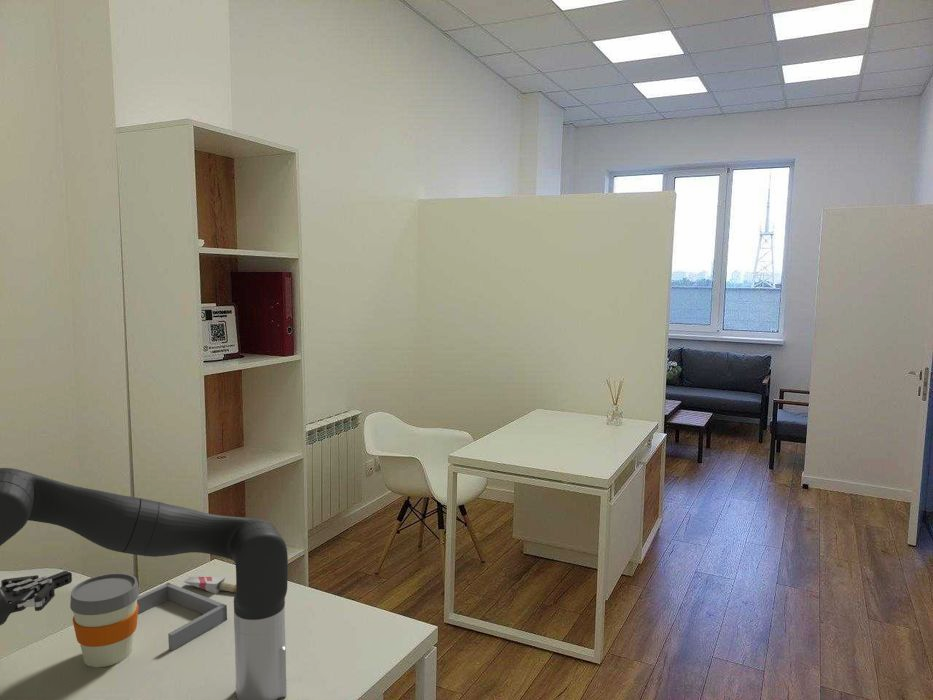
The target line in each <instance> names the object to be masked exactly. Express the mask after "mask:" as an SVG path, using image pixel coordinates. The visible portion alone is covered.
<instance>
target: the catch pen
mask: <svg viewBox="0 0 933 700" xmlns="http://www.w3.org/2000/svg"><path fill="white" fill-rule="evenodd" d="M166 601H170V602H173V603H175V604H177V605H180V606H183V607H185V608H188V609H190V610H193V611H195V612H197V613H200V614H202V615H200V616H198V617H196V618H194V619H192V620H191V621H189V622H187V623H185V624H184V625H181V626H179V627H177V628H176V629H174V630H173V631H171V632H169V633H168V634H167V635H168V638H167V639H168V649H169V650H170V651H172V652H173V651H174V650H177V649H179V647H181V646H183V645H185V644H187V643H188V642H190V641H192V640H194V639H196V638H198V637H199V636H201V635H202V634H204V633H206V632H209V631H210V630H211V629H214V628H215V627H217V626H218V625H221V624H222V623H224V622H225V621H227V620H228V606H227V604H224V603H221V602H219V601H216V600H214V599H213V598H212V599H211V598H210V597H207V596H204V595H201V594H198V593H196V592H192V591H191V590H188V589H186V588H183V587H181V586H178V585H175V584H173V583H170V582H167V583H165V584H163V585H160V586H158V587H156V588H154V589H152V590H150V591H148V592H146V593H144V594H141V595H139V596H138V598H137V603H138V606H139V607H138V615H139V614H141V613H143V612H145V611H148V610H149V609H153V608H154V607H156V606H157V605H160V604H162V603H164V602H166Z"/></svg>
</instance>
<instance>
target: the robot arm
mask: <svg viewBox="0 0 933 700" xmlns="http://www.w3.org/2000/svg"><path fill="white" fill-rule="evenodd" d="M28 521H31V522H38V523H43V524H49V525H55V526H59V527H62V528H64V529H67V530H69V531H71V532H73V533H75V534H77V535H79V536H81V537H82V538H85V539H86V540H87V541H89V542H91V543H93V544H96V545H97V546H100V547H101V548H105V549H107V550H111V551H112V552H113V551H114V552H116V553H122V554H128V555H135V556H141V557H150V558H151V557H154V558H155V557H156V558H157V557H168V556H174V555H176V556H177V555H181V554H190V553H198V554H199V553H201V554H206V555H213V556H217V557H221V558H226V559H229V560H231V561H233V562H234V564H235V583H236V584H235V585H236V593H235V594H234V597H233V622H234V626H233V627H234V656H235V657H234V658H235V659H234V663H235V666H234V667H235V690H236V692H235V693H236V699H237V700H278V699H280V698H285V697H287V657H286V656H287V654H286V653H287V652H286V650H287V649H286V648H287V647H286V642H287V641H286V608H285V607H286V596H287V592H288V581H289V579H288V575H289V573H288V570H289V569H288V568H289V564H288V563H289V562H288V561H289V560H288V557H289V556H288V548H287V544H286V542H285V540H284V538H283V537H282V536H281V534H280V533H279V530H278V529H277V528H276V527H275V525H273V524H272V523H270V522H269V521H267V520H265V519H260V518H253V517H244V516H243V517H241V516H230V515H220V514H213V513H208V512H204V511H199V510H195V509H191V508H188V507H182V506H178V505H173V504H169V503H165V502H161V501H157V500H152V499H146V498H139V497H135V496H130V495H129V496H127V495H123V494H117V493H112V492H108V491H104V490H103V491H102V490H99V489H93V488H87V487H83V486H78V485H74V484H69V483H65V482H61V481H58V480H55V479H52V478H49V477H45V476H43V475H39V474H35V473H31V472H28V471H26V470H20V469H18V468H11V467H0V547H1V546H2V545H4V544H6V542H7V541H9V540H10V539H11V538H12V537H14V536H16V535H17V533H18V532H20V531H21V530H22V529H23V528H24V527H25V526H26V524H27V523H28ZM0 581H1V583H0V626H3V625H4V624H5V623H6V622H7V620H8V618H9V616H10V615H11V614H14V613H18V612H22V611H24V610H25V609H26V608H34V611H35V612H39V611H42V610H43V609H44V608H45V607H46V606H47V605H48V604H49V602H51V601H52V600H53V598H54V597H55V596H56V594H55V590H56V589H59V588H62V587H64V586H67V585H69V584H71V583H72V581H73V575H72V572H70V571H68V570H64V571H61V572H58V573H55V574H52V575H50V576H39V575H29V576H27V575H26V576H19V577H11V578H4V579H2V580H0Z"/></svg>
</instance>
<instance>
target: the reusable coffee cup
mask: <svg viewBox="0 0 933 700" xmlns="http://www.w3.org/2000/svg"><path fill="white" fill-rule="evenodd" d="M139 596H140V589H139V583H138V579H137V577H136V576H134V575H133V574H129V573H126V572H125V573H124V572H113V573H105V574H100V575H96V576H93V577H90V578H87V579H85V580H83V581H81V582H79V583H77V584H76V585H75V586H74V587H73V588H72V590H71V592H70V603H69V604H70V605H69V607H70V610H71V611H72V613H73V617H72V624H73V628H74V632H75V637H76V642H77V643H78V644H80V645H79V646H80V648H81V649H80V650H81V654H82V658H83V662H84V664H85V665H87V666H88V665H89V666H88V667H91V666H92V668H103V667H109V666H113V665H116V664H118V662H119V663H121V662H123V661H124V660H126V659H127V658H128V657H129V656H130V655H131V654H132V652H133V644H134V636H135V631H136V630H137V625H138V617H139V616H138V615H139V614H138V607H139V606H138V603H137V598H138V597H139ZM115 663H116V664H115Z"/></svg>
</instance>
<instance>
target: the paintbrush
mask: <svg viewBox="0 0 933 700" xmlns="http://www.w3.org/2000/svg"><path fill="white" fill-rule="evenodd" d="M225 579H226V576H189V577H188V578H187V579H185V580H184V581H183V583H185V584H188V585H191V586H194V587H196V588H199V589H200V590H204V591H207V592H208V593H211V594H215V595H217V594H219V592H221V591H225V592H232V593H235V594H236V584H234V583H228V582H225Z"/></svg>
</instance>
